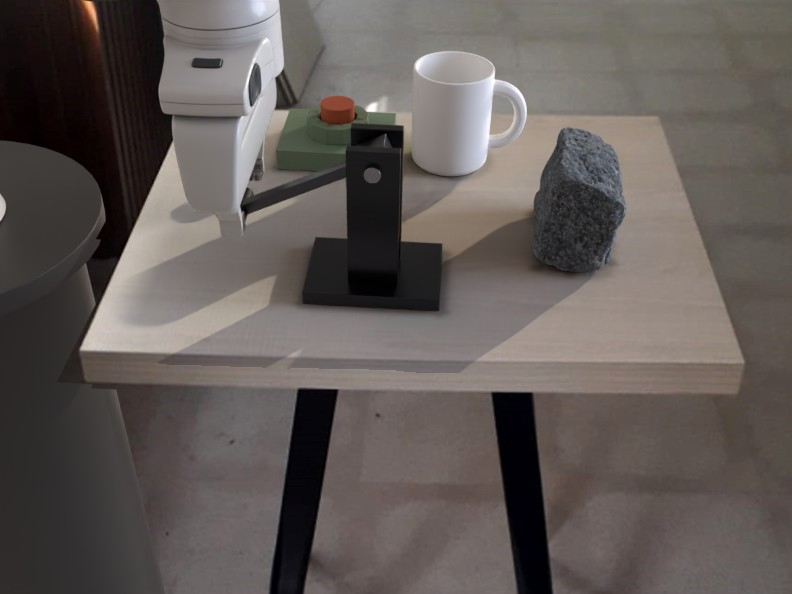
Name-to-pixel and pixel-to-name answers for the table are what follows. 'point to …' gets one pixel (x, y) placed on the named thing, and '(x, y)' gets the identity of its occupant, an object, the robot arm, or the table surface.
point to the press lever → (302, 183)
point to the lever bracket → (374, 237)
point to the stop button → (337, 110)
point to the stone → (578, 203)
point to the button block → (319, 138)
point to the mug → (458, 112)
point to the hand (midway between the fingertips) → (244, 204)
